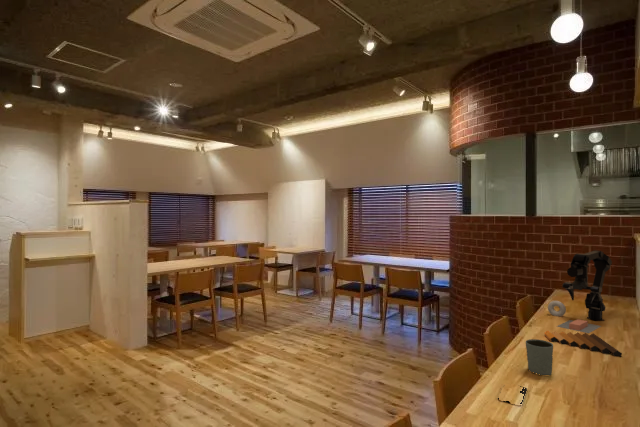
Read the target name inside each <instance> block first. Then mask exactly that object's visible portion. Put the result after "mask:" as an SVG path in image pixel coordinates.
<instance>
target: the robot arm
mask: <svg viewBox="0 0 640 427" xmlns="http://www.w3.org/2000/svg"><path fill="white" fill-rule="evenodd" d="M591 261H592V262H593V266H594V268H595V274H594V278H593V282H592V286H589V282H588V279H589V275H588V268H589V267H590V266H589V264H590V263H591ZM612 264H613V261H612V259H611V257H610V256H608V255H607V254H605V253H604V252H603V251H602V250H596V249H595V250H592V251H589V252H586V253H575V254H574V255H573V257H572V259H571V262H570V267H569V268H567V271H566V274H568V276H569V277H570V278H574V281H573V282H569V281H568V282H567V281H566V282H563V283H562V286H561V287H562V289H564V290H566V291H567V292H568V293H569V296H570V298H571V300H572V301H574V300H575V290H579V291H582V290H589V291H590V292H589V293H587V294H586V297H585V300H584V305H585V308H586V309H588V311H587V317H586V318H587V319H589V320H591V321H594V322H597V321H599V322H600V321H605V319H603V312H605V311H606V305H605V304H604V302H603V300H604V298H603V297H602V292H603V285H604V281H605V276H606V273H607V272H608V271H609V270H610V269H611V266H612Z"/></svg>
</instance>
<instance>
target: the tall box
mask: <svg viewBox="0 0 640 427" xmlns="http://www.w3.org/2000/svg"><path fill="white" fill-rule="evenodd" d="M588 324H589V322H588V320H583V319H580V318H579V319H578V318H577V319H575V320H573V322H571V323H569V329H568V330H571V329H574V330H573V331H575V330H578V331H577V332H580V330H582V329H584V328H585V327H587V326H588Z"/></svg>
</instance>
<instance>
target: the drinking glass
mask: <svg viewBox="0 0 640 427" xmlns="http://www.w3.org/2000/svg"><path fill="white" fill-rule="evenodd" d="M525 349H526V359H527V368H528V369H529V370H530V371H531V372H534V373H537V374H540V375H539V376H541V375H549V376H551V375H552V373H553V359H554V357H553V354H554V344H553V342H551V341H547V340H542V339H536V338H535V339H534V338H533V339H527V340H525ZM528 369H527V370H528ZM529 370H528V371H529ZM530 371H529V372H530ZM531 372H530V373H531Z"/></svg>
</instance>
